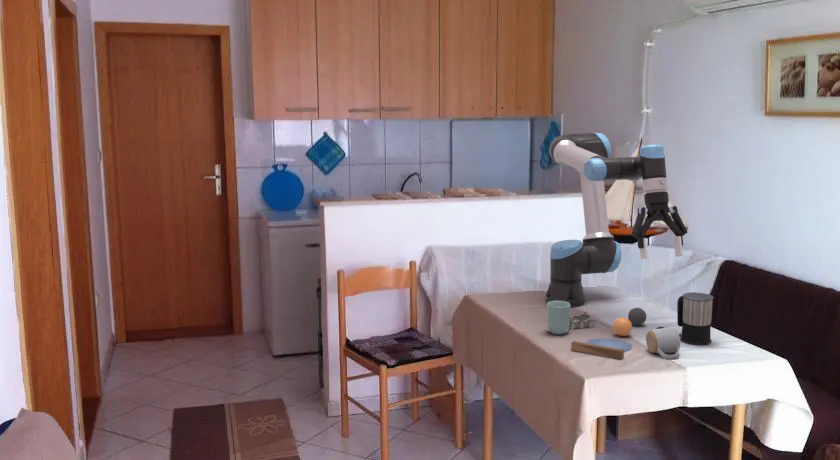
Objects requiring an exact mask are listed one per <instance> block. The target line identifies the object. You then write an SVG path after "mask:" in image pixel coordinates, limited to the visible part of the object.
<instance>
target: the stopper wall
mask: <svg viewBox="0 0 840 460" xmlns="http://www.w3.org/2000/svg"><path fill="white" fill-rule="evenodd" d="M570 351H572V352H578V353H581V354H582V353H583V354H588V355H594V356H600V357H605V358H611V359H614V360H615V359H617V360H623V359H624V357H625V352H624V350H623V349H617V348H611V347H606V346H600V345H594V344H589V343H586V342H582V341H576V340H573V341H572V342H571V344H570Z"/></svg>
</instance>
